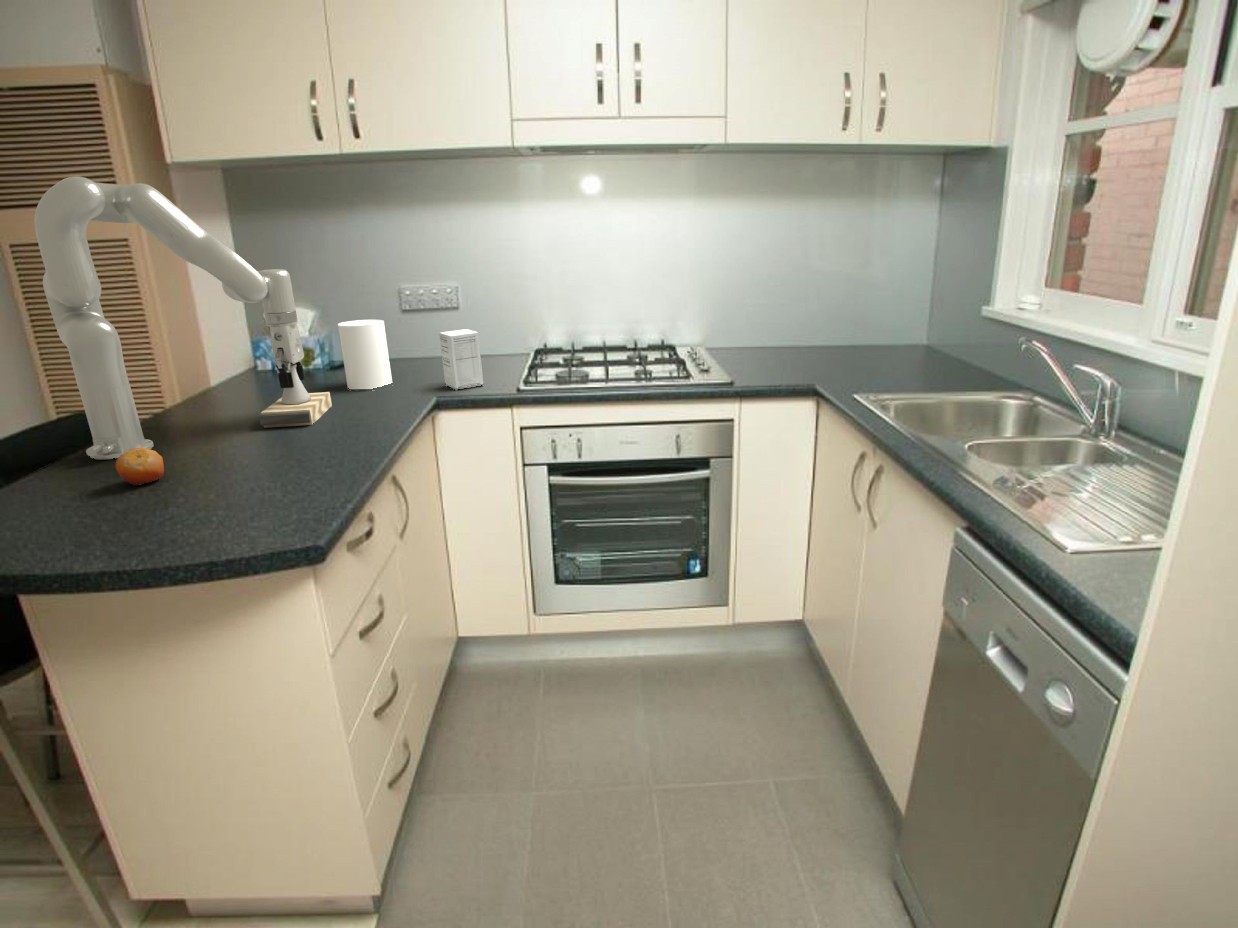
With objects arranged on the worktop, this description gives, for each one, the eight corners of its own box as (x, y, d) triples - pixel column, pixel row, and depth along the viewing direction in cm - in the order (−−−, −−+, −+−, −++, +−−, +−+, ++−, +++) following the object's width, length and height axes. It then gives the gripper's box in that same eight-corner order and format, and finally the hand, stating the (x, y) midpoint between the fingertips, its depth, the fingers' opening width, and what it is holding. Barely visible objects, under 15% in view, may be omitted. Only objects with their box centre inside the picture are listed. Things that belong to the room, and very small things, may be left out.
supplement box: (472, 381, 227) (467, 328, 222) (484, 386, 220) (479, 331, 214) (444, 386, 222) (438, 332, 217) (455, 391, 215) (449, 335, 209)
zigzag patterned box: (310, 426, 182) (307, 411, 180) (261, 429, 180) (258, 414, 179) (331, 405, 202) (329, 392, 201) (287, 408, 201) (285, 394, 199)
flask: (300, 405, 186) (293, 368, 183) (275, 405, 188) (268, 367, 185) (316, 398, 193) (310, 362, 190) (292, 398, 195) (285, 362, 191)
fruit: (153, 464, 151) (152, 437, 146) (170, 489, 148) (170, 461, 144) (109, 475, 145) (107, 447, 140) (126, 501, 142) (124, 473, 138)
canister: (346, 392, 217) (335, 327, 211) (349, 383, 230) (339, 321, 223) (392, 388, 221) (383, 324, 214) (393, 380, 233) (384, 318, 226)
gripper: (286, 322, 176) (298, 390, 181) (306, 314, 192) (316, 376, 197) (254, 324, 175) (267, 391, 180) (277, 315, 191) (288, 378, 197)
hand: (293, 383), depth 189 cm, fingers open, 9 cm apart
